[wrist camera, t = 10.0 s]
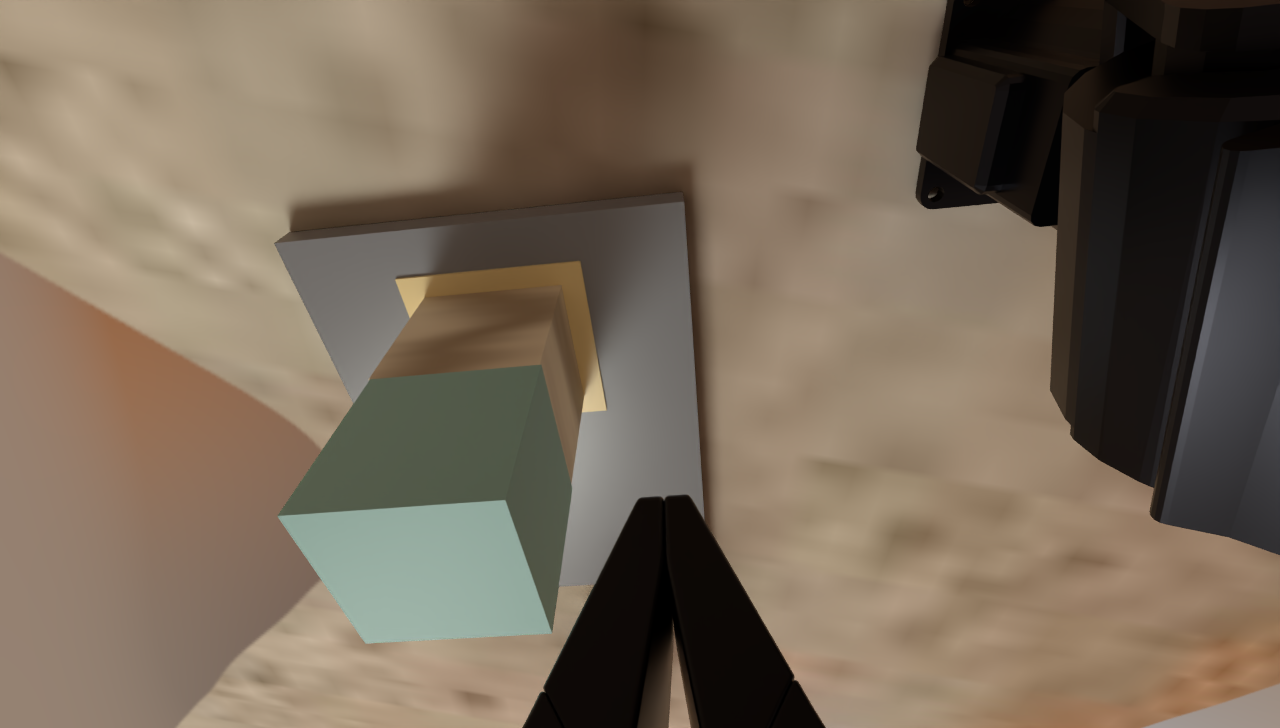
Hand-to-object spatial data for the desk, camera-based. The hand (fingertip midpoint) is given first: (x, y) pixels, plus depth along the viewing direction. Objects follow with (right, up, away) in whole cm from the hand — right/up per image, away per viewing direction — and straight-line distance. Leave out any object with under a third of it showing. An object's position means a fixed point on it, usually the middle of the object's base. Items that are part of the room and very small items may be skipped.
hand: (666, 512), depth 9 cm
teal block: (-5, 0, +8) cm, 10 cm away
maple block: (-5, +3, +12) cm, 14 cm away
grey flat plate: (-5, -1, +16) cm, 17 cm away
